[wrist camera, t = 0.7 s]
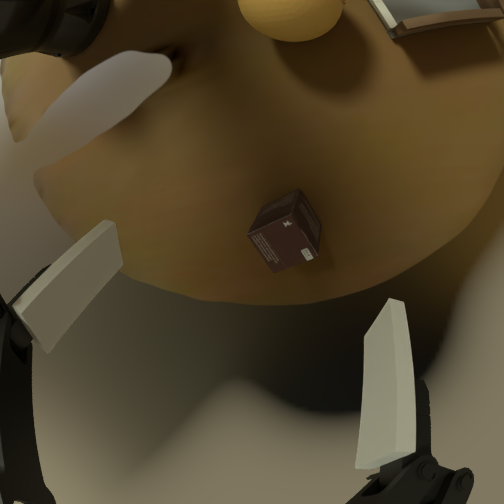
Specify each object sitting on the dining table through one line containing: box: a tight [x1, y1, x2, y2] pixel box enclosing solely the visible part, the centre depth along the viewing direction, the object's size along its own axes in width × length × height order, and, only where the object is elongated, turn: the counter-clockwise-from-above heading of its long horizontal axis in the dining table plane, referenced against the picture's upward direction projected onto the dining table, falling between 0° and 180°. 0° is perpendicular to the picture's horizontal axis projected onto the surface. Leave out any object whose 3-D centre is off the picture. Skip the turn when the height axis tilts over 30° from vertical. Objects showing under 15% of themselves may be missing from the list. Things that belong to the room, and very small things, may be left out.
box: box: [247, 189, 321, 273], centre depth 33 cm, size 6×6×7 cm
